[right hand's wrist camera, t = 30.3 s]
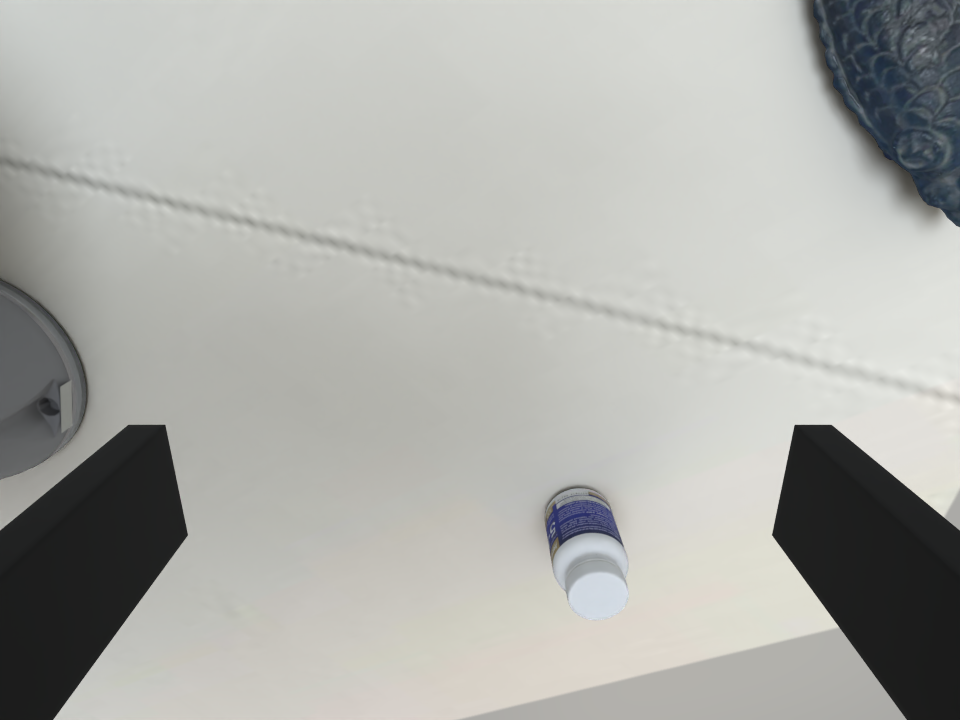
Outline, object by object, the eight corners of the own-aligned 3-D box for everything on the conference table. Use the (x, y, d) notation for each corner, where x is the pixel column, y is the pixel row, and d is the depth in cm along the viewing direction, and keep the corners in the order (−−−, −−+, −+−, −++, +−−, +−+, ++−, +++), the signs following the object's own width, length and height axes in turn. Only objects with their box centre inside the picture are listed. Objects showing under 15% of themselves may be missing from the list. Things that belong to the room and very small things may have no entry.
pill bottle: (535, 497, 47) (547, 576, 38) (600, 477, 46) (627, 553, 38) (555, 550, 48) (571, 637, 40) (618, 532, 48) (647, 616, 39)
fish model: (891, 246, 40) (947, 260, 35) (756, -66, 34) (802, -101, 29) (991, 188, 38) (1063, 194, 34) (870, -147, 32) (937, -197, 28)
